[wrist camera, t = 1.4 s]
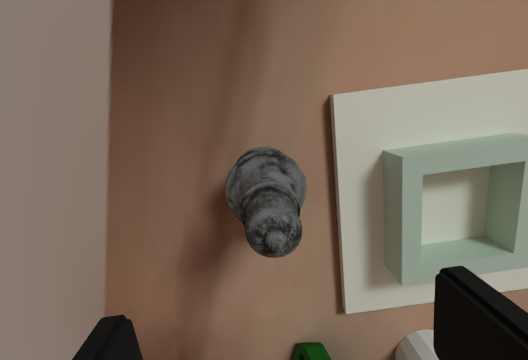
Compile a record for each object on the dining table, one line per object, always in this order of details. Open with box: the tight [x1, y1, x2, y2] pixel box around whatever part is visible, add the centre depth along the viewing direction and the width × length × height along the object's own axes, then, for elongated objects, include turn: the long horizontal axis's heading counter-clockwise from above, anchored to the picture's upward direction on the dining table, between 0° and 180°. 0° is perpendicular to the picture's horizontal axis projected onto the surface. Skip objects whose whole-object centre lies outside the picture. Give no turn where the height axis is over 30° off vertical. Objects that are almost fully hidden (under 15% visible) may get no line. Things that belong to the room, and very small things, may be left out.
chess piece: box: [225, 147, 307, 258], centre depth 18 cm, size 6×6×12 cm
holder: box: [330, 69, 528, 314], centre depth 23 cm, size 20×18×4 cm
